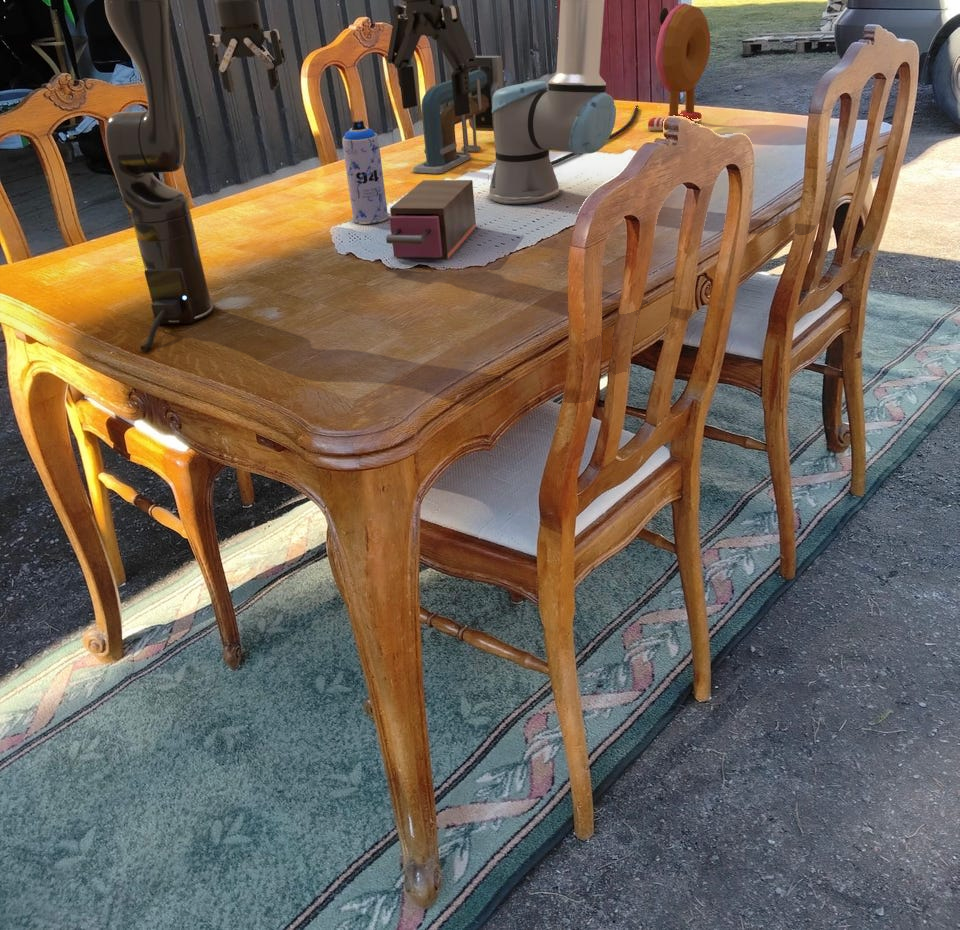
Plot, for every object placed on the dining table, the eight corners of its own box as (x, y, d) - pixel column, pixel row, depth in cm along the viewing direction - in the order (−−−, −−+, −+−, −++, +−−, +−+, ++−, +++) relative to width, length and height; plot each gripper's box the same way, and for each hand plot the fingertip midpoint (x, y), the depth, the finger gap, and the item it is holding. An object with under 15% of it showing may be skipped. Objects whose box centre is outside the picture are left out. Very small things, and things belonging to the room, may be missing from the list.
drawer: (430, 268, 173) (426, 227, 170) (383, 267, 176) (377, 227, 172) (467, 227, 193) (464, 190, 189) (424, 227, 195) (420, 190, 191)
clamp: (440, 173, 235) (432, 80, 224) (410, 172, 239) (400, 80, 228) (506, 140, 261) (501, 55, 250) (478, 139, 264) (472, 55, 254)
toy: (679, 116, 271) (683, -2, 256) (712, 118, 265) (718, -3, 250) (639, 132, 257) (640, 8, 242) (673, 135, 251) (676, 8, 236)
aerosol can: (355, 226, 202) (341, 127, 192) (349, 216, 209) (336, 120, 199) (392, 220, 204) (380, 122, 194) (385, 211, 210) (373, 115, 200)
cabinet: (448, 258, 180) (443, 208, 175) (396, 257, 183) (389, 208, 178) (476, 227, 196) (472, 180, 191) (427, 226, 199) (422, 180, 194)
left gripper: (191, 2, 175) (210, 96, 183) (267, -4, 174) (283, 91, 182) (205, -2, 182) (223, 89, 190) (278, -7, 180) (293, 85, 188)
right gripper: (355, -25, 160) (373, 108, 171) (456, -26, 144) (469, 122, 155) (390, -31, 164) (406, 100, 175) (492, -32, 148) (502, 112, 159)
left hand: (252, 90), depth 186 cm, fingers open, 8 cm apart
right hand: (435, 110), depth 165 cm, fingers open, 13 cm apart
